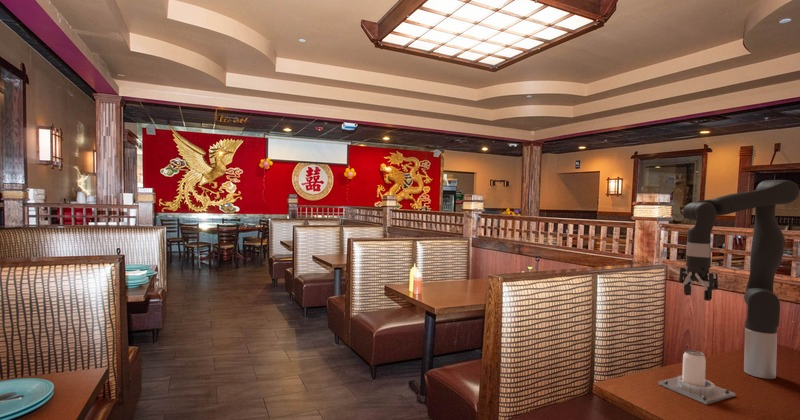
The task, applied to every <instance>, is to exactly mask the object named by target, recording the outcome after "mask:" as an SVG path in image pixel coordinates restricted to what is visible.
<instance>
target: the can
mask: <svg viewBox="0 0 800 420" xmlns="http://www.w3.org/2000/svg"><path fill="white" fill-rule="evenodd" d="M706 363H707V359H706V357H705V353H703V352H701V351H697V350H693V349H686V350H684V353H683V355H682V373H681V375H682V381H684V382H685V383H688V384H691V385H694V386H699V387H705V379H706V368H707V367H706V366H707V365H706Z"/></svg>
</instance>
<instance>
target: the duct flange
mask: <svg viewBox="0 0 800 420" xmlns="http://www.w3.org/2000/svg"><path fill="white" fill-rule="evenodd" d="M657 384H658V386H661V387H663V388H666V389H669V390H670V391H672V392H675V393H678V394H680V395H682V396H684V397H687V398H690V399H692V400H694V401H697V402H699V403H702V404H704V405H706V406H707V405H710V404H714V403H716V402H720V401H724V400H726V399H730V398H733V397H736V392H733V391H730V390H729V389H725V388H722V387H720V386H717V385H715V383H713V382H712V381H710V380H708V379H706V378H705V387H699V386H694V385H691V384H688V383H685V382H684V381H682V374H681V375H678V376H676V377H675V376H674V377H671V378H667V379H663V380H658V381H657Z"/></svg>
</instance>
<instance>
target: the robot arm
mask: <svg viewBox="0 0 800 420" xmlns="http://www.w3.org/2000/svg"><path fill="white" fill-rule="evenodd" d="M798 185H799V184H798ZM798 185H797V183H796V182H794V181H791V180H787V179H768V180H767V179H766V180H762V181H761V182H759V183H758V185H757V186H756V189H755V190H752V191H751V190H750V191H744V192H743V191H742V192H737V193H730V194H726V195H722V196H717V197H715V198H711V199H710V198H709V199H705V200H704V199H703V200H696V201H693V202H690V203H687V204H686V205H685V206H684V208H683V212H682V213H683V216H684V217H685V218H686V219H688V220H690V221H694V222H695V224H694V226H693V227H690V228H688V230H687V240H686V241H687V243H686V250H685V251H686V252H685V253H686V255H685V257H686V258H685V266H686V267H680V268H679V279H678V281H679V283H681V284H682V285H683V294H684V295H685V296H691V295H692V284H693V283H694V282H697V283H699V284H700V285H701V286H702V288H703V289H704V291H703V293H704V294H703V295H704V296H703V299H704V301H706V302H708V301H711V300H712V299H713V291H714V290H715V291H716V290H718V289H719V281H718V280H719V279H718V273H717V272H710V269H711V268H712V267H711V266H712V245H711V243H712V242H711V241H712V240H711V238H712V237H711V235H712V234H711V233H712V230H713V227H714V224H715V222H716V219H717V216H719V217H721V216H726V215H730V214H733V213H738V212H741V211H746V210H750V209H754V224H753V225H754V226H753V233H752V239H751V248H750V260H749V264H750V265H749V277H748V280H747V285H746V287H745V291H744V295H743V300H744V302H745V304H746V305H747V313H746V314H747V315H746V320H745V321H744V322H745V323H744V353H743V354H744V356H743V359H744V360H743V371H744V373H745V374H747V375H750V376H753V377H756V378H760V379H764V380H765V379H767V380H773V379H774V380H775V379H776V378H777V352H778V351H777V348H778V346H777V345H778V342H777V341H778V339H777V338H778V328H779V325H780V318H781V317H780V314H781V302H780V298H779V297H778V296H777V295H776V294H775V293H774V280H775V275H776V273H777V271H778V269H779V267H780V265H781V263H782V259H783V257H784V252H785V251H784V250H785V243H786V242H785V241H786V240H785V236H784V233H783V231H782V229H781V227H780V226H779V225H780V224H778V221H777V218H776V205H786V204H790V203H793V202H794V201H795V200H797V198H798V197H799V196H800V187H799V186H798Z"/></svg>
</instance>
